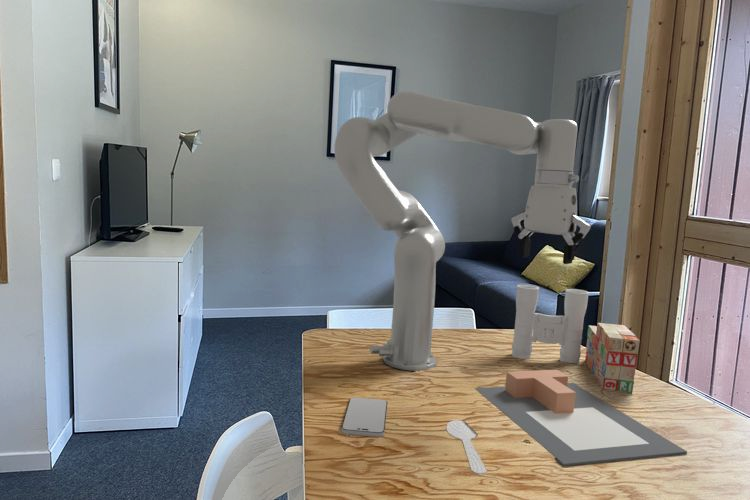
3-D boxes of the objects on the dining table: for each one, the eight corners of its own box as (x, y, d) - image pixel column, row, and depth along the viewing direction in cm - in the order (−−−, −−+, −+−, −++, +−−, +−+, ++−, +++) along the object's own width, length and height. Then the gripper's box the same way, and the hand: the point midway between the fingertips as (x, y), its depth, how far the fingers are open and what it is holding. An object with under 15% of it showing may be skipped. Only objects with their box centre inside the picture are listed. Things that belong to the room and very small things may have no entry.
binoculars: (510, 358, 138) (517, 287, 136) (509, 351, 144) (516, 283, 141) (582, 366, 135) (590, 294, 133) (578, 359, 141) (586, 290, 138)
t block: (536, 414, 104) (539, 394, 103) (505, 390, 115) (506, 371, 115) (591, 410, 107) (593, 391, 107) (554, 387, 119) (556, 369, 118)
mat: (563, 466, 86) (563, 463, 86) (474, 389, 115) (474, 388, 115) (686, 453, 93) (687, 451, 93) (572, 384, 122) (573, 382, 122)
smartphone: (387, 400, 107) (384, 433, 92) (387, 405, 107) (383, 439, 92) (350, 396, 107) (340, 429, 92) (349, 402, 107) (340, 435, 92)
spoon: (462, 475, 82) (463, 472, 82) (442, 421, 100) (442, 419, 100) (498, 476, 82) (498, 473, 82) (471, 422, 100) (472, 419, 100)
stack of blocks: (584, 360, 140) (589, 313, 139) (610, 363, 139) (615, 315, 138) (602, 391, 120) (609, 336, 118) (633, 395, 119) (640, 339, 117)
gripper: (601, 182, 113) (592, 264, 115) (524, 178, 125) (517, 253, 127) (587, 181, 108) (578, 267, 110) (507, 177, 119) (500, 255, 121)
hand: (545, 260), depth 118 cm, fingers open, 9 cm apart
